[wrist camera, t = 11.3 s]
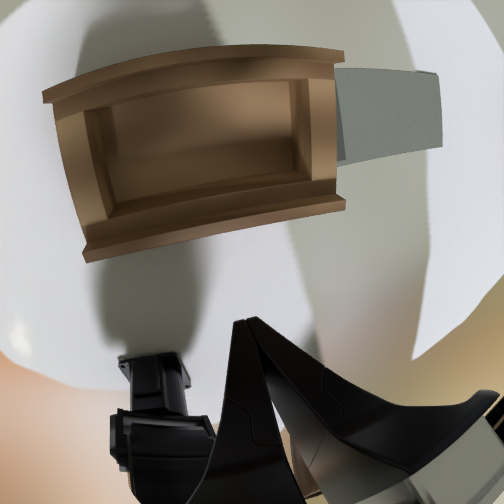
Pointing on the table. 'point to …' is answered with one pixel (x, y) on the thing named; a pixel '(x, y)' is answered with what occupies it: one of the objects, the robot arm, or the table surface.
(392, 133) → the cover plate
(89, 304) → the table surface
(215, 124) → the walnut box
